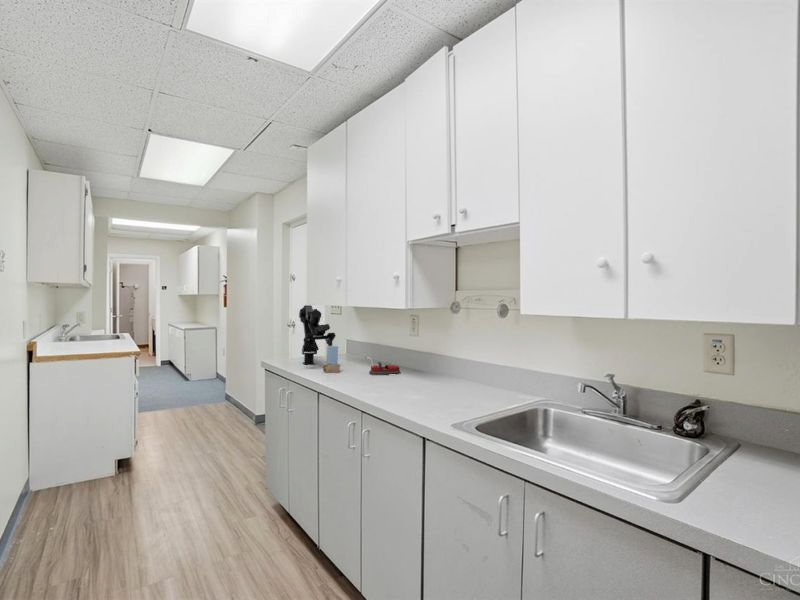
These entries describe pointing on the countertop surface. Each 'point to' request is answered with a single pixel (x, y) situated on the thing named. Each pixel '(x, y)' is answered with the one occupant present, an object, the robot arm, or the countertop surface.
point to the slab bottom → (331, 371)
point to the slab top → (330, 366)
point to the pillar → (332, 355)
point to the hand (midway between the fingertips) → (325, 349)
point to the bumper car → (383, 369)
